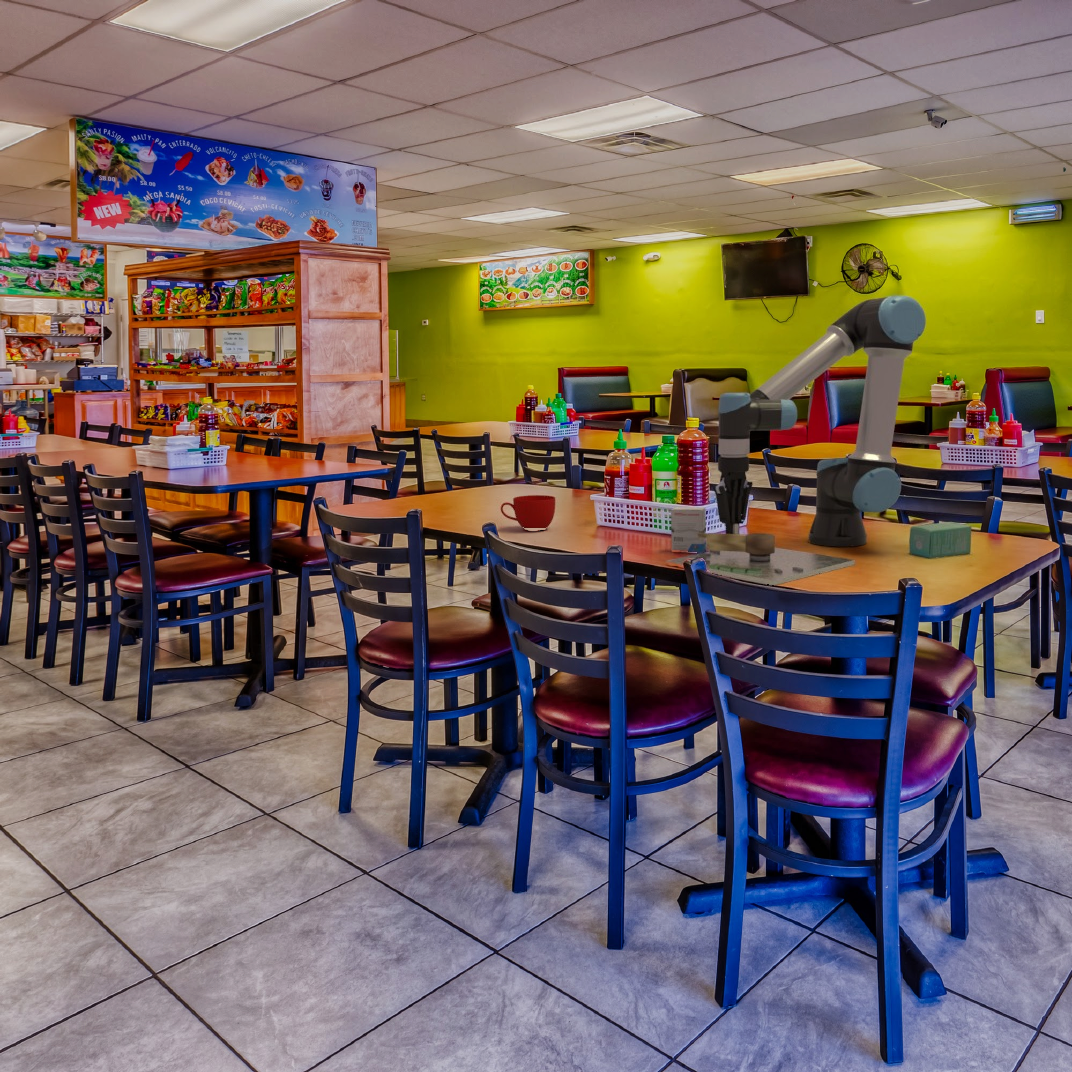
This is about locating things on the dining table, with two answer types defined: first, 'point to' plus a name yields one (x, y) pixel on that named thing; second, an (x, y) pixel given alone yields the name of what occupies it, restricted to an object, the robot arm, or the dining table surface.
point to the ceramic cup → (532, 510)
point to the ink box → (688, 529)
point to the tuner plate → (768, 565)
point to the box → (940, 540)
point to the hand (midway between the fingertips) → (732, 549)
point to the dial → (740, 542)
